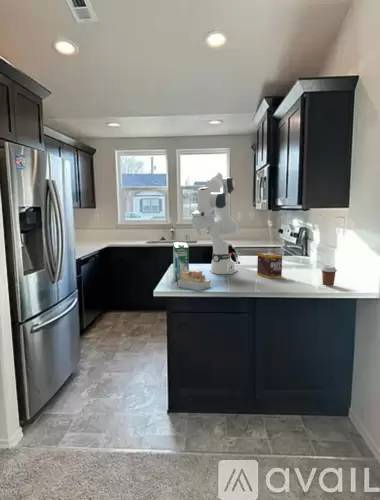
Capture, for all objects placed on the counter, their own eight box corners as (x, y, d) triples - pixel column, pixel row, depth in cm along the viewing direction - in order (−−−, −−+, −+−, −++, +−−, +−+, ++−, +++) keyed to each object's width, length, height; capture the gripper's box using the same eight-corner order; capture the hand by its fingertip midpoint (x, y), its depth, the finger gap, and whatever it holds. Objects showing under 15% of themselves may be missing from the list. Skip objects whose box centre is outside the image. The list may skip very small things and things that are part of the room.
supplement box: (269, 278, 240) (269, 256, 237) (256, 274, 254) (257, 253, 252) (282, 277, 243) (282, 255, 241) (269, 273, 258) (269, 252, 255)
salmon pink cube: (197, 276, 218) (197, 270, 218) (202, 277, 216) (202, 271, 215) (193, 277, 215) (193, 271, 215) (198, 278, 213) (198, 272, 212)
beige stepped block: (186, 277, 225) (186, 270, 224) (205, 280, 216) (205, 272, 215) (180, 279, 220) (179, 271, 219) (199, 282, 211) (199, 274, 210)
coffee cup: (338, 285, 219) (339, 266, 217) (331, 288, 213) (332, 268, 211) (324, 283, 226) (325, 264, 224) (317, 285, 219) (318, 266, 218)
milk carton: (175, 281, 232) (175, 243, 229) (173, 278, 241) (173, 242, 237) (188, 280, 234) (188, 243, 230) (186, 278, 242) (186, 242, 239)
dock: (190, 283, 228) (190, 276, 227) (210, 286, 218) (210, 280, 217) (177, 286, 218) (177, 280, 217) (198, 290, 208) (198, 284, 207)
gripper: (209, 212, 233) (209, 233, 235) (190, 213, 217) (190, 235, 219) (217, 212, 229) (217, 234, 231) (198, 213, 213) (198, 236, 215)
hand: (203, 234), depth 225 cm, fingers open, 8 cm apart
